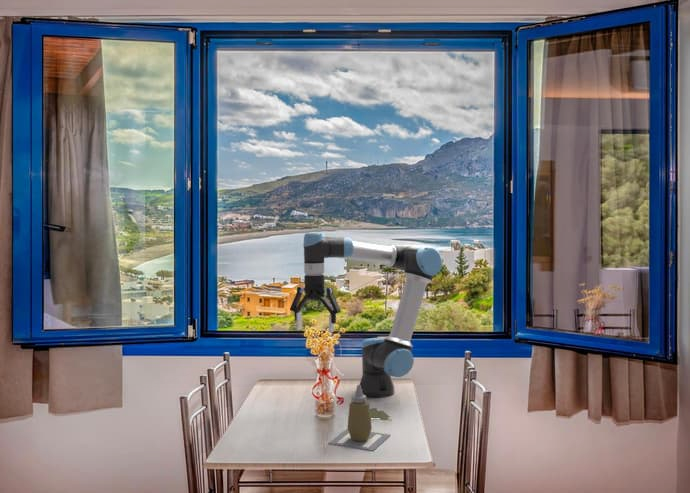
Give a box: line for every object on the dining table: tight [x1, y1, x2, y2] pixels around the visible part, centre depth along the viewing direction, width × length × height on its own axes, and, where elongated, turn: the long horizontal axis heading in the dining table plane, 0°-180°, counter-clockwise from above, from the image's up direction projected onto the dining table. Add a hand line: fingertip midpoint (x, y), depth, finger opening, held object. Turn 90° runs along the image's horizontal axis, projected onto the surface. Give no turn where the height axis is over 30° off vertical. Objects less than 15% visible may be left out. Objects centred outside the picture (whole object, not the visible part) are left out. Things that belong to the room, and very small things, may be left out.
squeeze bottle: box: [347, 384, 373, 441], centre depth 200 cm, size 8×8×18 cm
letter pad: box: [328, 427, 391, 452], centre depth 200 cm, size 15×16×1 cm
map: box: [370, 407, 392, 422], centre depth 222 cm, size 11×18×1 cm, turn 15°
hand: (315, 330), depth 225 cm, fingers open, 13 cm apart
